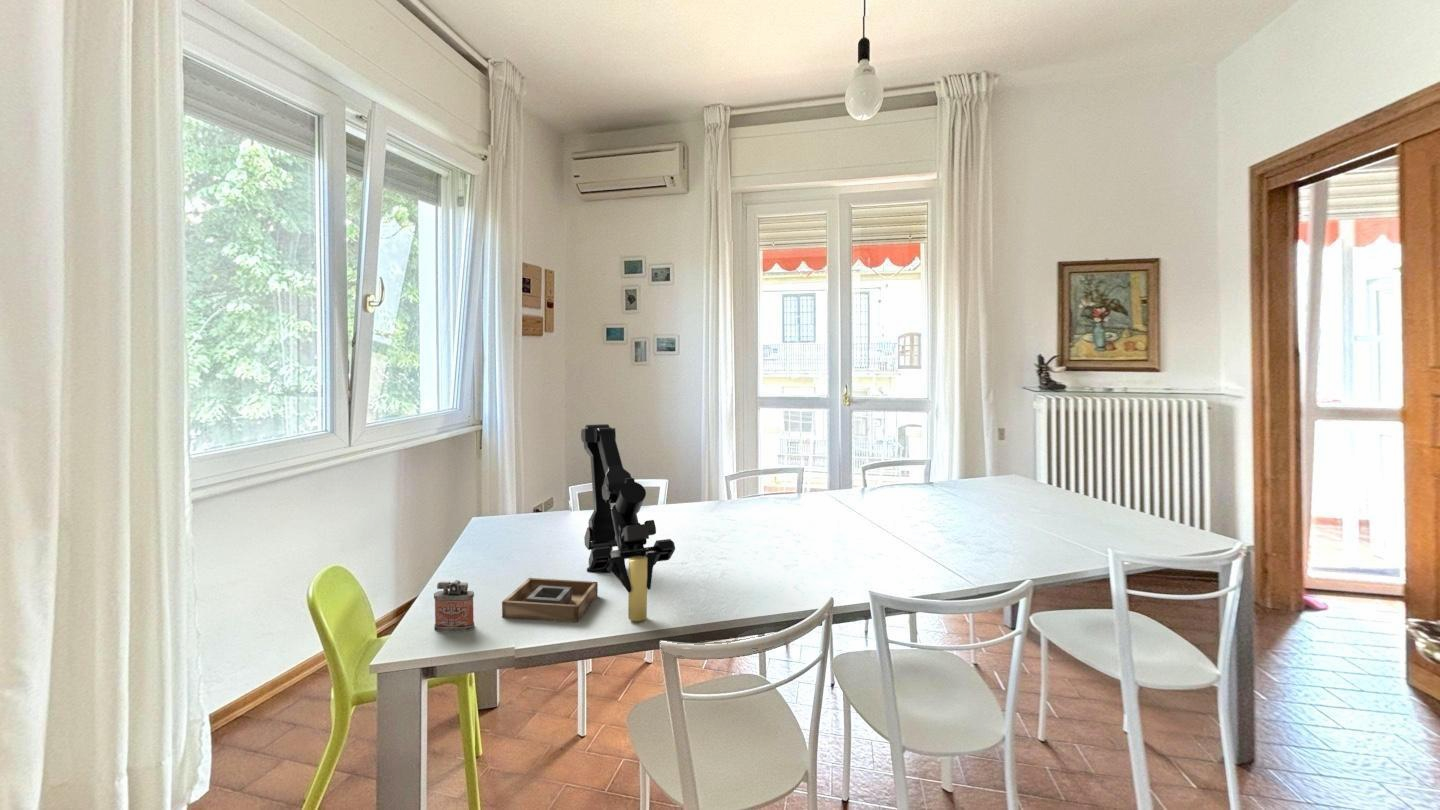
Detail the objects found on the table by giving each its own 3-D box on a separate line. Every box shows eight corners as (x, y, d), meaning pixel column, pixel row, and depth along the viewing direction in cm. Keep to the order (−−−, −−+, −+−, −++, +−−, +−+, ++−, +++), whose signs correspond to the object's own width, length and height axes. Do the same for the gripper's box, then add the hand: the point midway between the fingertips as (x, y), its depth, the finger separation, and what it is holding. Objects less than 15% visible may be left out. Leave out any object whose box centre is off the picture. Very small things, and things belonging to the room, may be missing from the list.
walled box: (529, 591, 141) (529, 576, 141) (597, 596, 139) (597, 580, 139) (502, 617, 127) (502, 600, 127) (577, 622, 125) (577, 605, 125)
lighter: (477, 624, 124) (476, 578, 123) (470, 631, 120) (470, 584, 119) (438, 624, 123) (437, 578, 123) (431, 631, 120) (430, 584, 119)
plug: (630, 612, 129) (631, 555, 128) (648, 613, 129) (649, 556, 128) (626, 620, 125) (626, 562, 124) (644, 621, 125) (645, 563, 124)
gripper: (591, 512, 125) (602, 580, 116) (673, 504, 133) (689, 568, 123) (584, 536, 133) (594, 602, 124) (661, 528, 140) (676, 589, 131)
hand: (639, 590), depth 125 cm, fingers closed on plug, 4 cm apart
